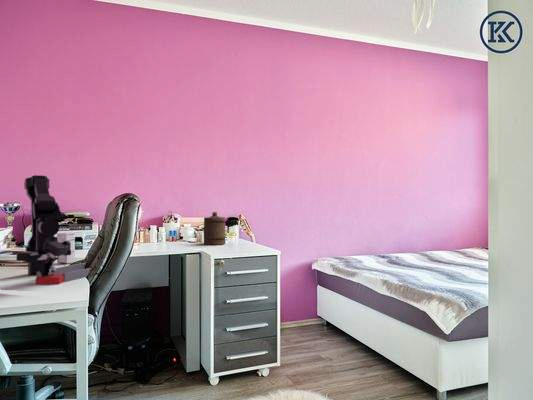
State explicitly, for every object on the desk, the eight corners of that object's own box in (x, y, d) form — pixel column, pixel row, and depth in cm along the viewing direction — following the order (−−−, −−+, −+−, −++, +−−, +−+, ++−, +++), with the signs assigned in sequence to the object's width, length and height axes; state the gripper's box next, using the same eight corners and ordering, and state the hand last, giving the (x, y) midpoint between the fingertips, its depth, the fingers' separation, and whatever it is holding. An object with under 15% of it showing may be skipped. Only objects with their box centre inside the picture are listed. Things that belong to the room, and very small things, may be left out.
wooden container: (229, 243, 285) (229, 211, 285) (218, 245, 272) (217, 212, 272) (211, 242, 291) (211, 211, 291) (199, 244, 278) (199, 212, 278)
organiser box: (36, 279, 150) (36, 271, 150) (86, 269, 174) (86, 262, 174) (64, 282, 146) (64, 273, 146) (111, 270, 170) (111, 263, 170)
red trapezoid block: (67, 281, 149) (67, 264, 149) (59, 285, 142) (59, 267, 143) (45, 281, 149) (45, 264, 149) (35, 285, 142) (35, 267, 142)
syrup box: (75, 261, 197) (75, 231, 197) (66, 263, 191) (66, 232, 191) (65, 261, 199) (65, 231, 199) (56, 263, 193) (56, 232, 193)
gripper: (40, 237, 135) (40, 284, 135) (82, 233, 153) (82, 274, 152) (15, 236, 138) (15, 282, 138) (59, 232, 156) (59, 273, 156)
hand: (45, 277), depth 146 cm, fingers closed
